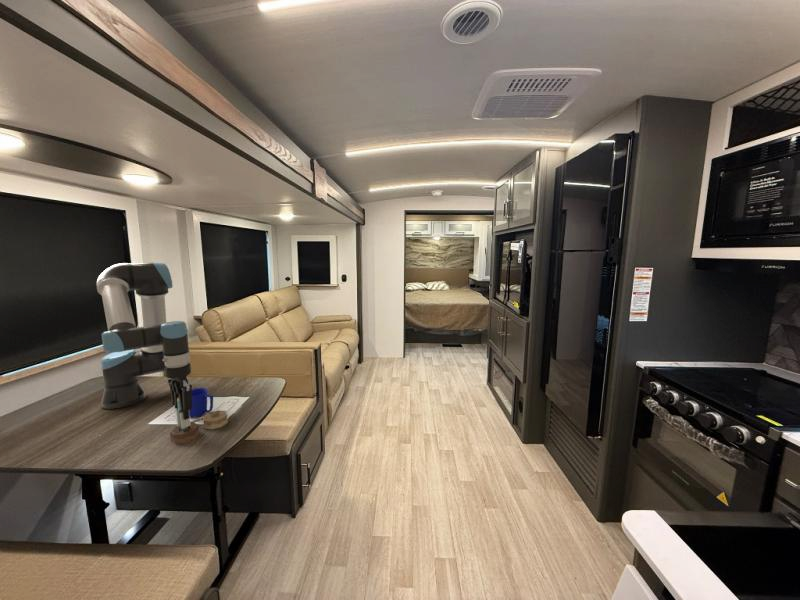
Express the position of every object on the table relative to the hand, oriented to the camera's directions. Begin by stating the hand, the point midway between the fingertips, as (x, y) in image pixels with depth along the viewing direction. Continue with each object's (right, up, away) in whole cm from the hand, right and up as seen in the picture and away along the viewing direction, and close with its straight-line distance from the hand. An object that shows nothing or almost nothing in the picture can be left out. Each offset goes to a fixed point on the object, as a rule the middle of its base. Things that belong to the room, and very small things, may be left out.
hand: (184, 425), depth 115 cm
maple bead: (+6, -3, +10) cm, 12 cm away
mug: (-4, -3, +17) cm, 18 cm away
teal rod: (0, -5, +1) cm, 5 cm away
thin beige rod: (-4, -3, +11) cm, 13 cm away
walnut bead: (0, -5, +1) cm, 5 cm away
